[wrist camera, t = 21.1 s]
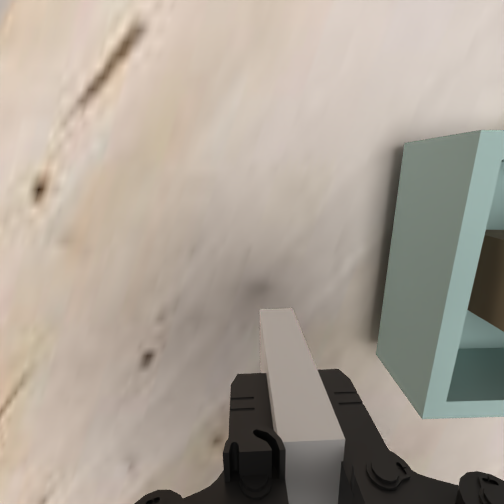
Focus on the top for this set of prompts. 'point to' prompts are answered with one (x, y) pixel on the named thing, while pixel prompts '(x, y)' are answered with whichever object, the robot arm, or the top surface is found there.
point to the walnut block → (490, 281)
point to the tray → (444, 277)
